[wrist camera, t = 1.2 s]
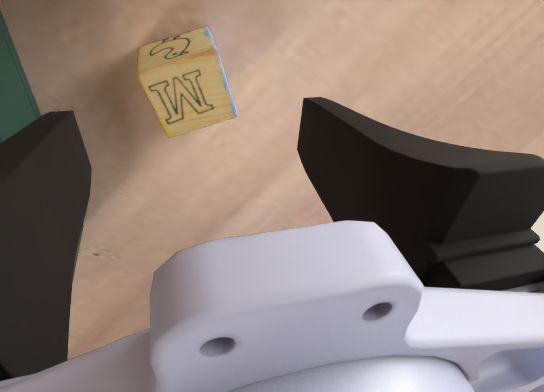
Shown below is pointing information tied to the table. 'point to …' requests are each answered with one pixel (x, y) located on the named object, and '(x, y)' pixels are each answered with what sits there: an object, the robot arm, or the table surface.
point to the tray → (15, 94)
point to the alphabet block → (185, 82)
